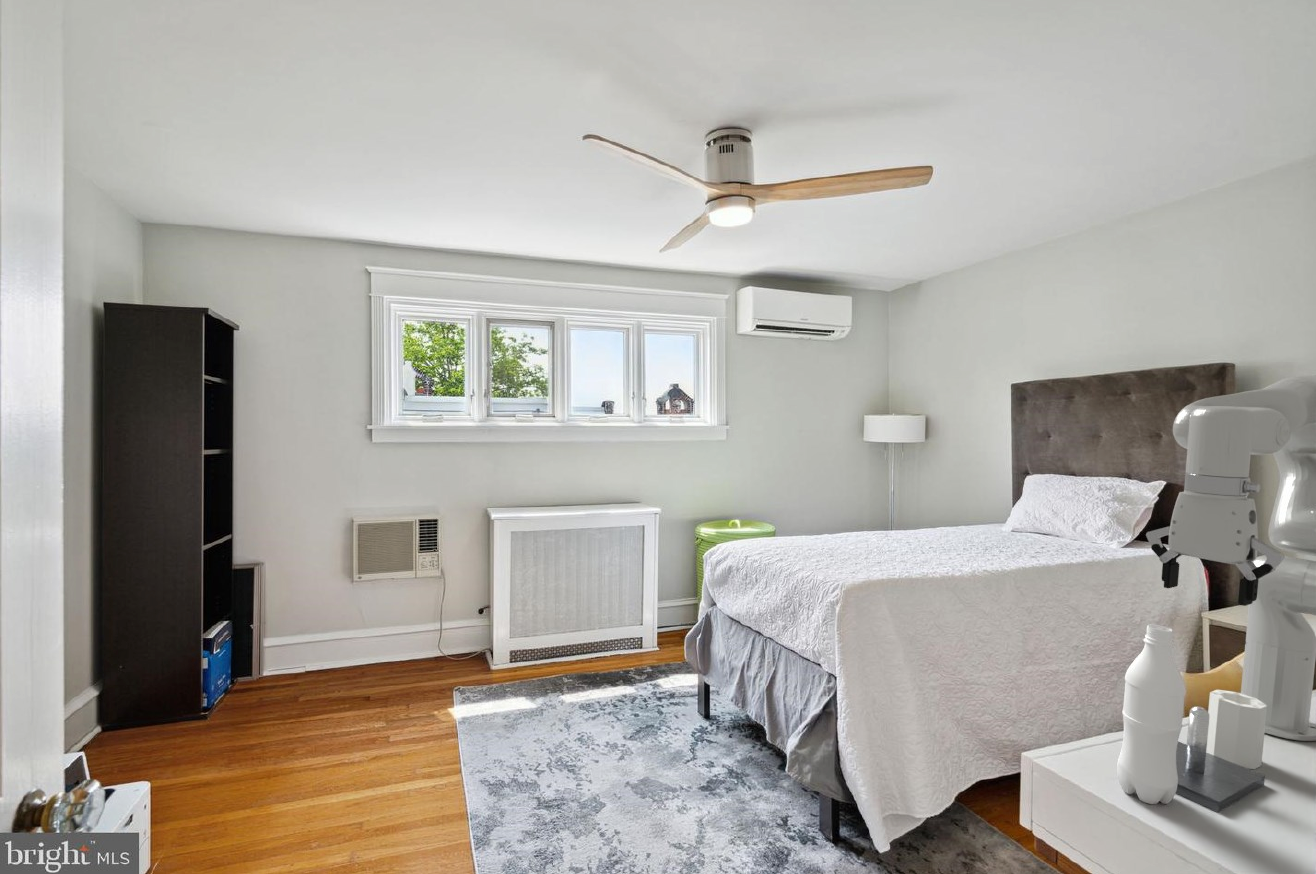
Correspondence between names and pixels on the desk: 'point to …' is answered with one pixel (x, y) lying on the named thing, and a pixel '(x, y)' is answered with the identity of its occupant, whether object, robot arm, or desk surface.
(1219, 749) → the white hollow octagonal tube
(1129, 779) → the water bottle
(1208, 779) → the roll holder
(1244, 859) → the desk surface
